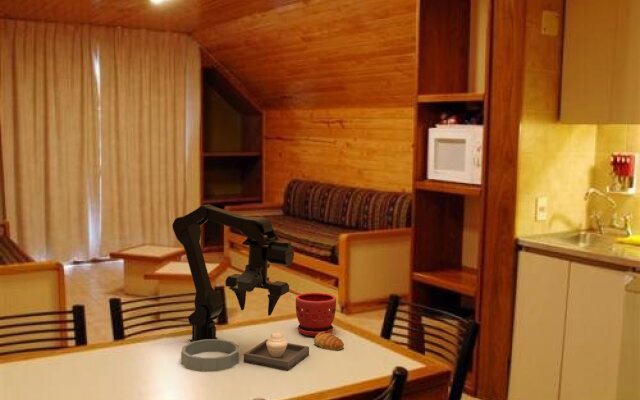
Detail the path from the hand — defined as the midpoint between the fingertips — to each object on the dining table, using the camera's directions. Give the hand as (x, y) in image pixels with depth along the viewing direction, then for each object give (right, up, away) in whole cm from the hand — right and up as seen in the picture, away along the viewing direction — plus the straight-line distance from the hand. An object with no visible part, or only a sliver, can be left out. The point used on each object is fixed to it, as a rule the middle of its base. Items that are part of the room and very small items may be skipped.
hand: (255, 312), depth 195 cm
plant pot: (+17, -10, +20) cm, 28 cm away
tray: (+7, -12, -5) cm, 15 cm away
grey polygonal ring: (-12, -12, -8) cm, 19 cm away
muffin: (+7, -12, -5) cm, 14 cm away
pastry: (+22, -12, +7) cm, 26 cm away
